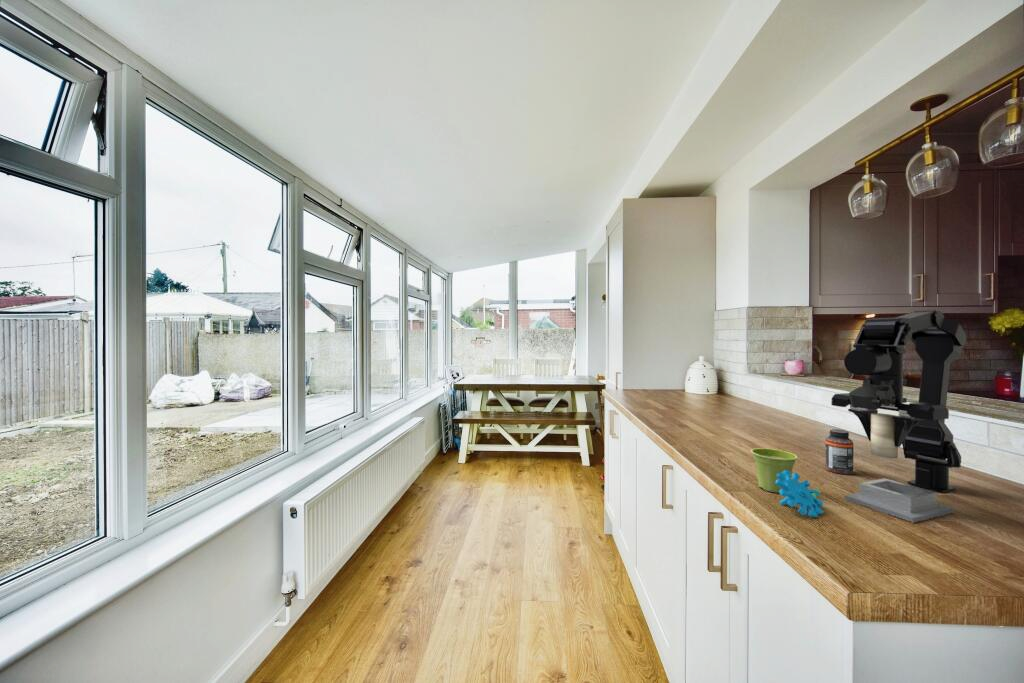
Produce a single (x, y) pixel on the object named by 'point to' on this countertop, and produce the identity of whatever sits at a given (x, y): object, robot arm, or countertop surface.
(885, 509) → the socket plate
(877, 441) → the beech peg
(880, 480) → the socket collar
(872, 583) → the countertop surface
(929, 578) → the countertop surface
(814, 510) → the blue knobbly cluster
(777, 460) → the plant pot
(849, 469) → the supplement bottle
